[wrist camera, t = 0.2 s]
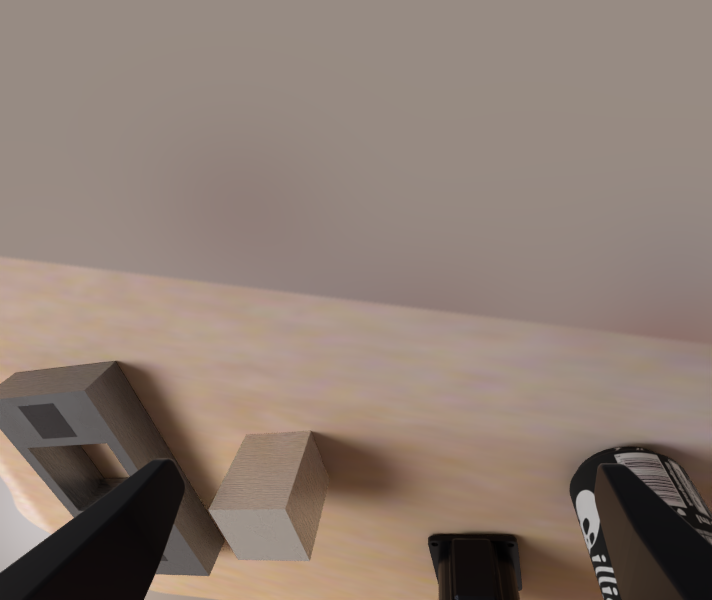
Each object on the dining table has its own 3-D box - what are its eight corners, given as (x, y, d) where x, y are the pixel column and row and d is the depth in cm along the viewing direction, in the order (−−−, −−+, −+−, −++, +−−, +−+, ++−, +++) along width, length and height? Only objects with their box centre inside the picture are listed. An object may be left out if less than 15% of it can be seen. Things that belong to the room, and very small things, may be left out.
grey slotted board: (224, 540, 38) (209, 576, 35) (140, 539, 40) (120, 573, 37) (115, 361, 29) (84, 390, 26) (15, 372, 31) (-24, 401, 28)
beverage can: (588, 519, 29) (675, 771, 19) (549, 459, 27) (622, 705, 17) (696, 495, 27) (865, 771, 16) (661, 426, 24) (830, 692, 14)
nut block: (329, 479, 31) (309, 561, 26) (268, 480, 33) (238, 559, 27) (311, 430, 29) (284, 509, 24) (246, 434, 30) (208, 509, 25)
